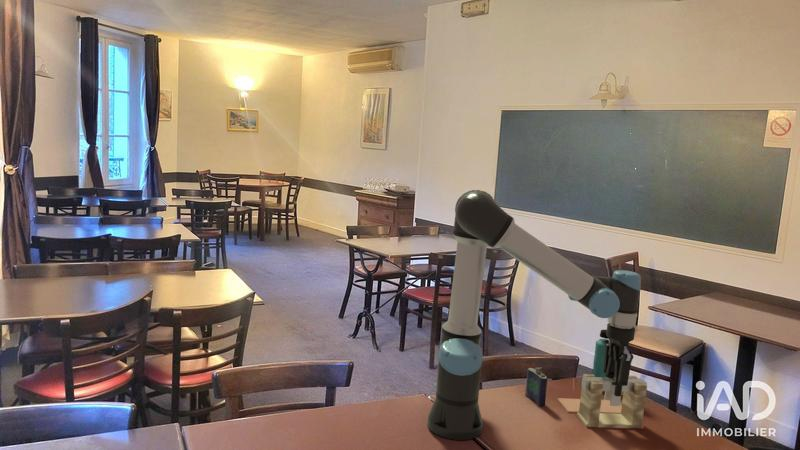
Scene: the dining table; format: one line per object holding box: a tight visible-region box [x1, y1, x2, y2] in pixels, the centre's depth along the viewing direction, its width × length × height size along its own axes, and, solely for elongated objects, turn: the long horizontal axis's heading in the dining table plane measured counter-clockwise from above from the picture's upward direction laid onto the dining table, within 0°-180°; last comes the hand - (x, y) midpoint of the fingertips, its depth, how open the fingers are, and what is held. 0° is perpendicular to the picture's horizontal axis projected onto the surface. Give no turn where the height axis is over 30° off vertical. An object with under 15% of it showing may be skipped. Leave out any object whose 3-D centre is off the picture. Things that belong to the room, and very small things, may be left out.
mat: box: [557, 397, 623, 414], centre depth 179 cm, size 21×9×1 cm, turn 95°
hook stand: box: [576, 373, 648, 429], centre depth 168 cm, size 17×7×13 cm, turn 95°
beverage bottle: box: [591, 329, 610, 377], centre depth 193 cm, size 6×7×20 cm
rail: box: [581, 376, 648, 393], centre depth 167 cm, size 18×3×3 cm, turn 95°
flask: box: [524, 367, 548, 407], centre depth 180 cm, size 9×3×11 cm, turn 21°
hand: (611, 402), depth 168 cm, fingers closed on rail, 3 cm apart
